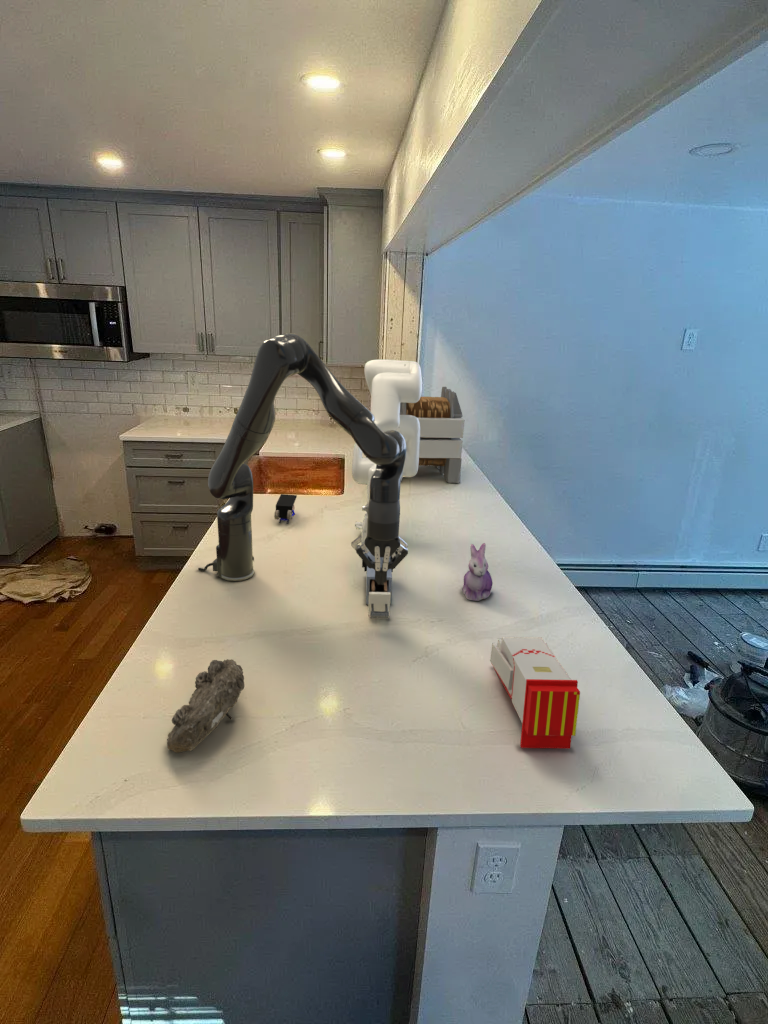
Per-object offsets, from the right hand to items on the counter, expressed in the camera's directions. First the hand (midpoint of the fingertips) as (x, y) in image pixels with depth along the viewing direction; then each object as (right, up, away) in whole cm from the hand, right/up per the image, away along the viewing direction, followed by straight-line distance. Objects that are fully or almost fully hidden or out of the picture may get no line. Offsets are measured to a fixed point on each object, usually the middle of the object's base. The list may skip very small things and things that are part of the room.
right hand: (378, 569), depth 160 cm
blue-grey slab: (0, -6, -1) cm, 6 cm away
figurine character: (-35, +14, +48) cm, 61 cm away
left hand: (+1, -1, -22) cm, 22 cm away
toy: (+31, -23, -44) cm, 58 cm away
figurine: (+28, -7, -1) cm, 29 cm away
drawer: (0, -9, -12) cm, 15 cm away
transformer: (+19, +35, +115) cm, 121 cm away
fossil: (-31, -23, -52) cm, 65 cm away
